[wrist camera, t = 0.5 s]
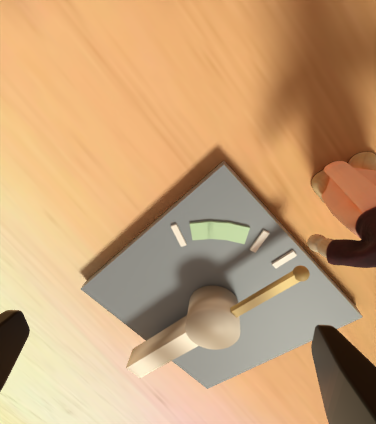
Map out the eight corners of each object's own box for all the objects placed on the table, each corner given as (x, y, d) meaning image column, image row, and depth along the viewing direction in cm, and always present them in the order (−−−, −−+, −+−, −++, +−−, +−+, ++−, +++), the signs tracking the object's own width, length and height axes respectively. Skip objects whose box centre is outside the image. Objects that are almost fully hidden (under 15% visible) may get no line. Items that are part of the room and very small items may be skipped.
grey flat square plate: (356, 306, 23) (363, 319, 22) (207, 378, 30) (207, 390, 29) (223, 160, 19) (223, 165, 18) (86, 280, 26) (79, 290, 25)
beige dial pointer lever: (282, 232, 20) (290, 253, 17) (316, 269, 21) (329, 294, 18) (124, 337, 27) (114, 363, 24) (155, 361, 28) (148, 388, 25)
